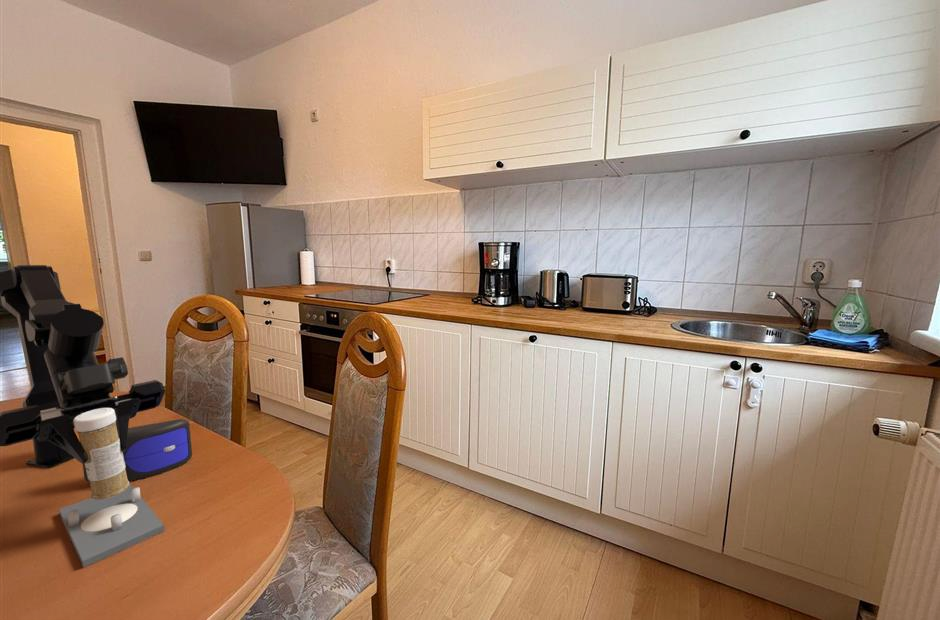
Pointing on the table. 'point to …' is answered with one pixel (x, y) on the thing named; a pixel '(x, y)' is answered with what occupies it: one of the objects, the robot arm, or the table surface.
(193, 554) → the table surface
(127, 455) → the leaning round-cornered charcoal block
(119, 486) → the sprinkles bottle
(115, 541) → the pin board
